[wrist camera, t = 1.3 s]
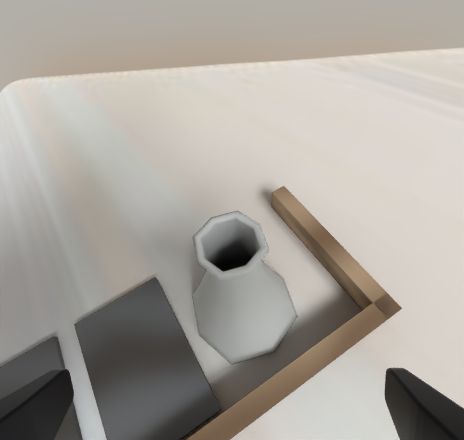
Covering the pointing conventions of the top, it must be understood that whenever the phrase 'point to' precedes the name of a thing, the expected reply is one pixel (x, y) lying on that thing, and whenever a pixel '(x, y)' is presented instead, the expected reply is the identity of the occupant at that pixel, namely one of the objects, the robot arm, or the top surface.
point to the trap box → (182, 357)
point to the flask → (239, 290)
